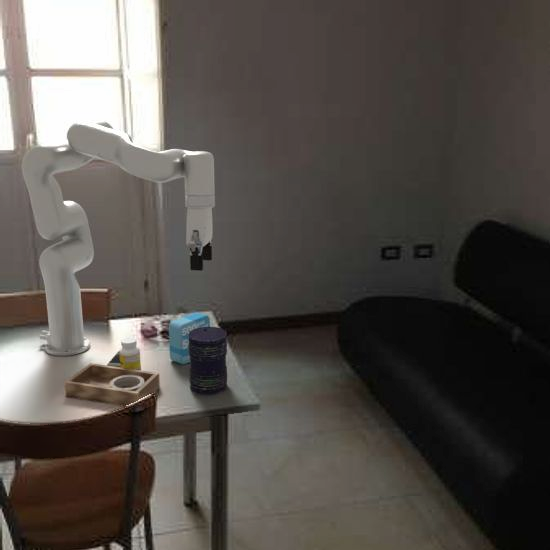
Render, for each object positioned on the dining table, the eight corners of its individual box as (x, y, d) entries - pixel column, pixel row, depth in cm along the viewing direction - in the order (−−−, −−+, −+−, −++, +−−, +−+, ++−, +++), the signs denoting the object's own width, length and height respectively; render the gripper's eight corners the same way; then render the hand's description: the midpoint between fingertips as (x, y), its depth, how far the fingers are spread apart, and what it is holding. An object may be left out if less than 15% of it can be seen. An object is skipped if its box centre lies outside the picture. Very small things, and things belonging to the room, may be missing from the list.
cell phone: (140, 354, 192) (140, 350, 191) (127, 371, 181) (127, 366, 181) (120, 353, 193) (119, 349, 192) (106, 369, 182) (105, 365, 182)
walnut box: (65, 396, 166) (64, 382, 164) (91, 376, 177) (90, 363, 175) (137, 408, 160) (137, 393, 159) (159, 387, 171) (159, 373, 170)
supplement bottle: (121, 369, 181) (119, 336, 178) (141, 369, 182) (140, 336, 179) (119, 378, 176) (117, 344, 173) (140, 377, 176) (138, 343, 174)
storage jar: (231, 393, 168) (230, 339, 164) (193, 398, 166) (191, 343, 161) (223, 376, 178) (222, 324, 173) (186, 380, 175) (185, 328, 171)
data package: (180, 366, 184) (179, 326, 180) (169, 361, 186) (168, 322, 183) (210, 352, 193) (210, 314, 189) (199, 348, 195) (198, 310, 192)
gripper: (194, 194, 177) (196, 255, 182) (176, 206, 161) (178, 273, 166) (221, 195, 176) (222, 257, 181) (206, 207, 160) (207, 275, 165)
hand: (201, 264), depth 174 cm, fingers open, 9 cm apart
